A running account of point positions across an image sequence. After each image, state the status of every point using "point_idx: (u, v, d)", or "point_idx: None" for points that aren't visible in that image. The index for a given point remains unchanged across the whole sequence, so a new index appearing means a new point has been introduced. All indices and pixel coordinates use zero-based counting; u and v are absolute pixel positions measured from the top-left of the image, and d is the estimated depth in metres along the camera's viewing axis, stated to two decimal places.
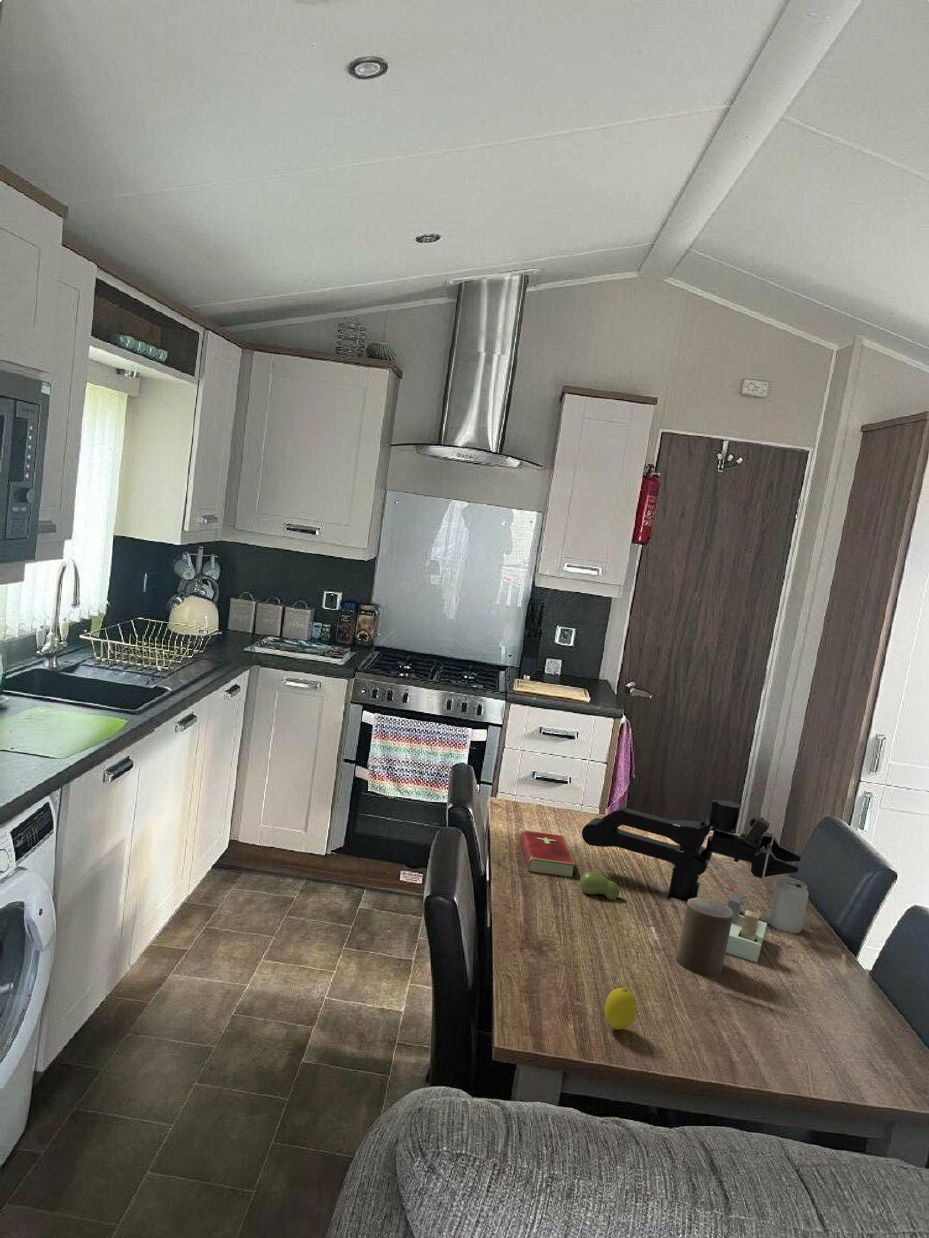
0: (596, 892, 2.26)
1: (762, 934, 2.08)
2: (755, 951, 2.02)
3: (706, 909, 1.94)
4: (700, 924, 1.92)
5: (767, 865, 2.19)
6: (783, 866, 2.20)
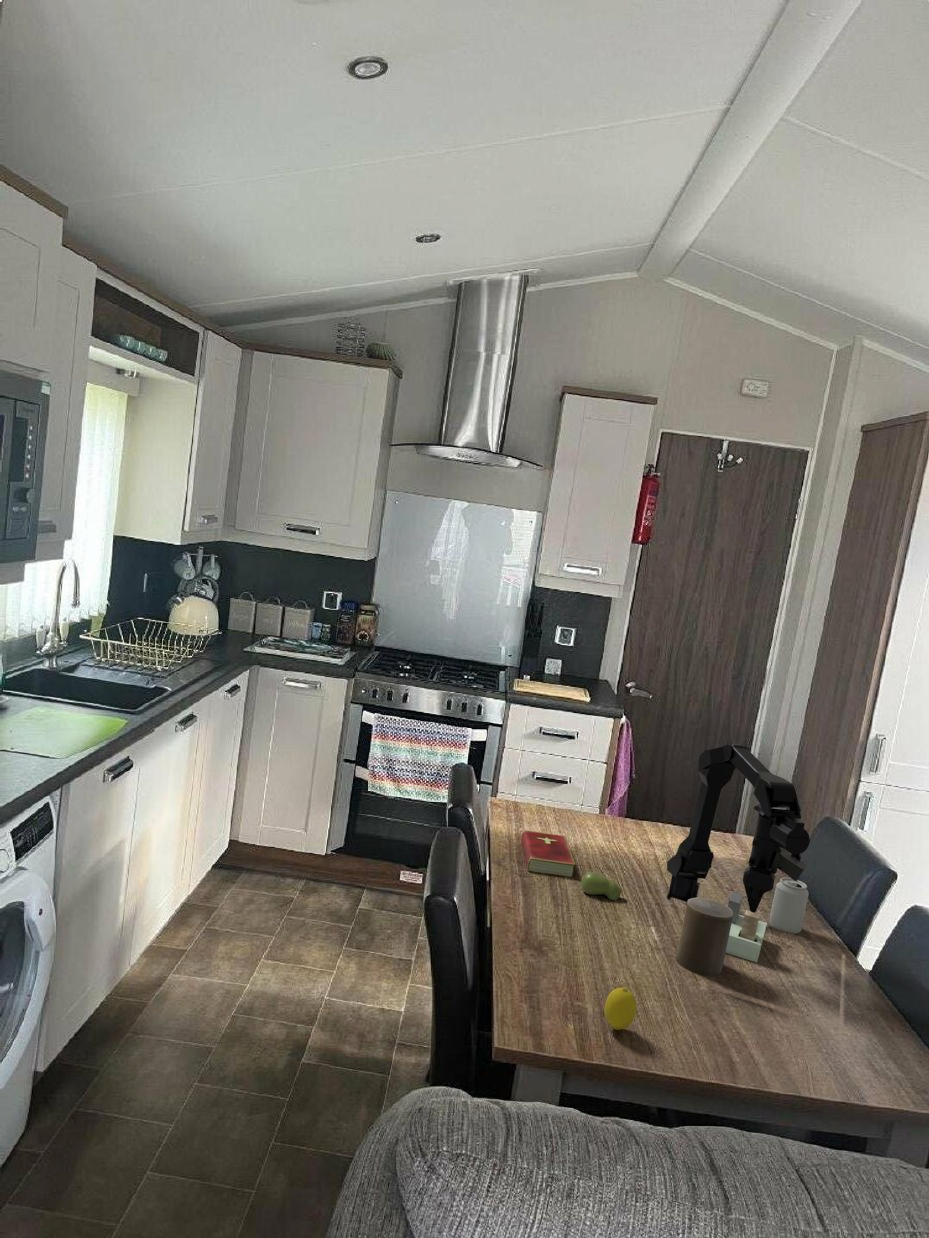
0: (598, 892, 2.26)
1: (762, 934, 2.08)
2: (755, 951, 2.02)
3: (706, 909, 1.94)
4: (700, 924, 1.92)
5: (757, 887, 1.97)
6: (756, 899, 1.99)
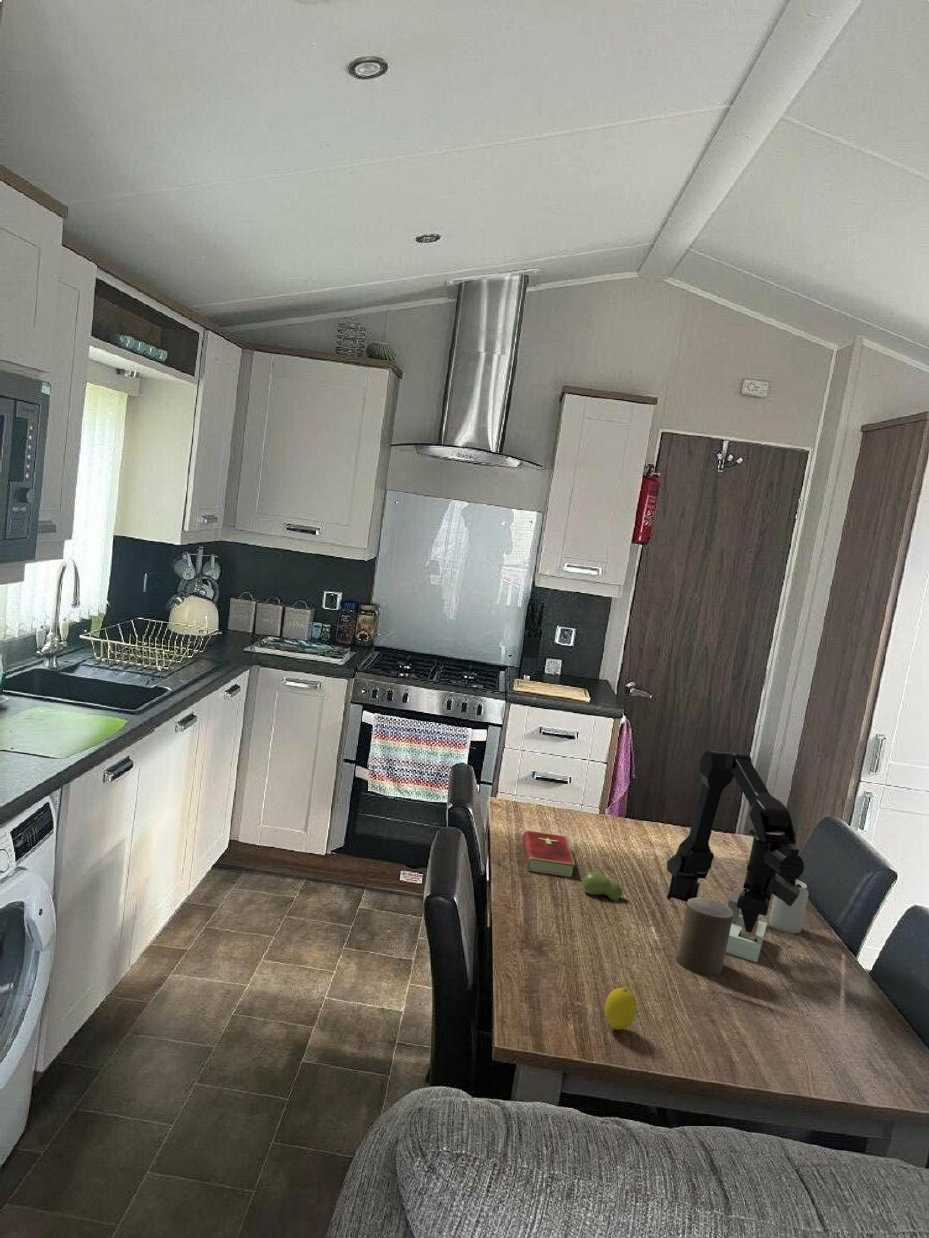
0: (599, 893, 2.26)
1: (762, 934, 2.08)
2: (755, 951, 2.02)
3: (706, 909, 1.94)
4: (700, 924, 1.92)
5: None
6: (751, 919, 2.02)
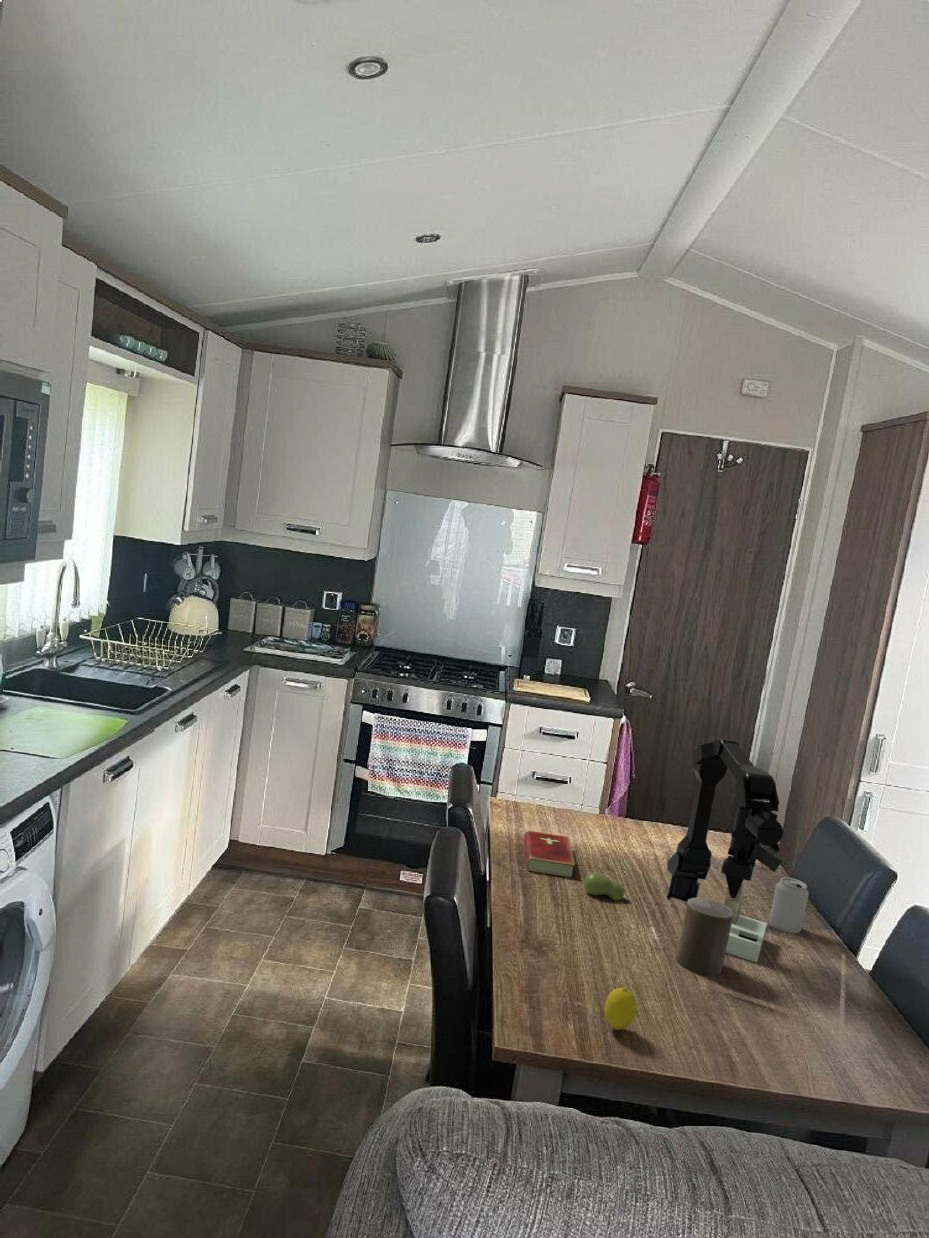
0: (600, 893, 2.26)
1: (762, 934, 2.08)
2: (755, 951, 2.02)
3: (706, 909, 1.94)
4: (700, 924, 1.92)
5: None
6: (735, 885, 2.04)
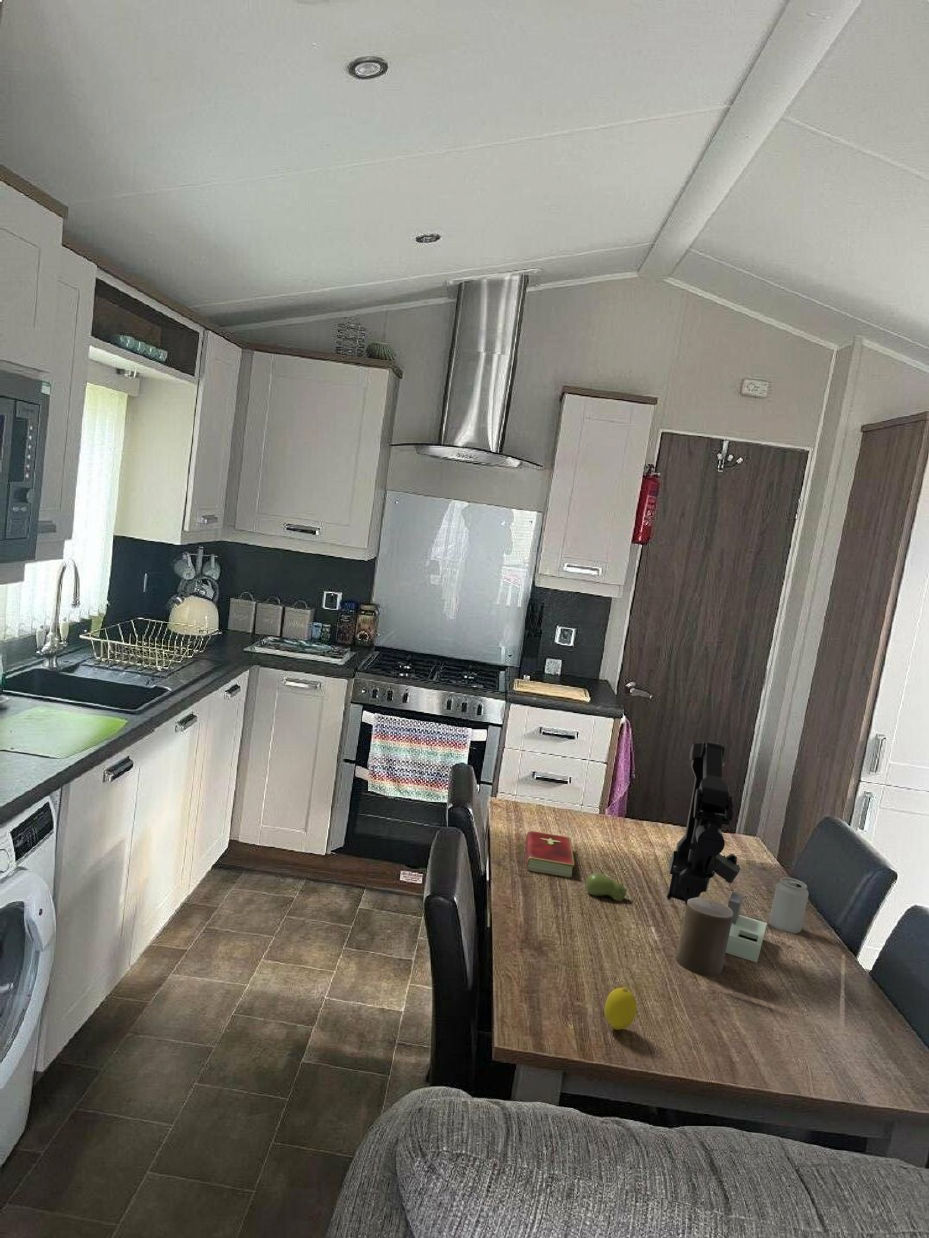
0: (602, 893, 2.26)
1: (762, 934, 2.08)
2: (755, 951, 2.02)
3: (706, 909, 1.94)
4: (700, 924, 1.92)
5: None
6: None
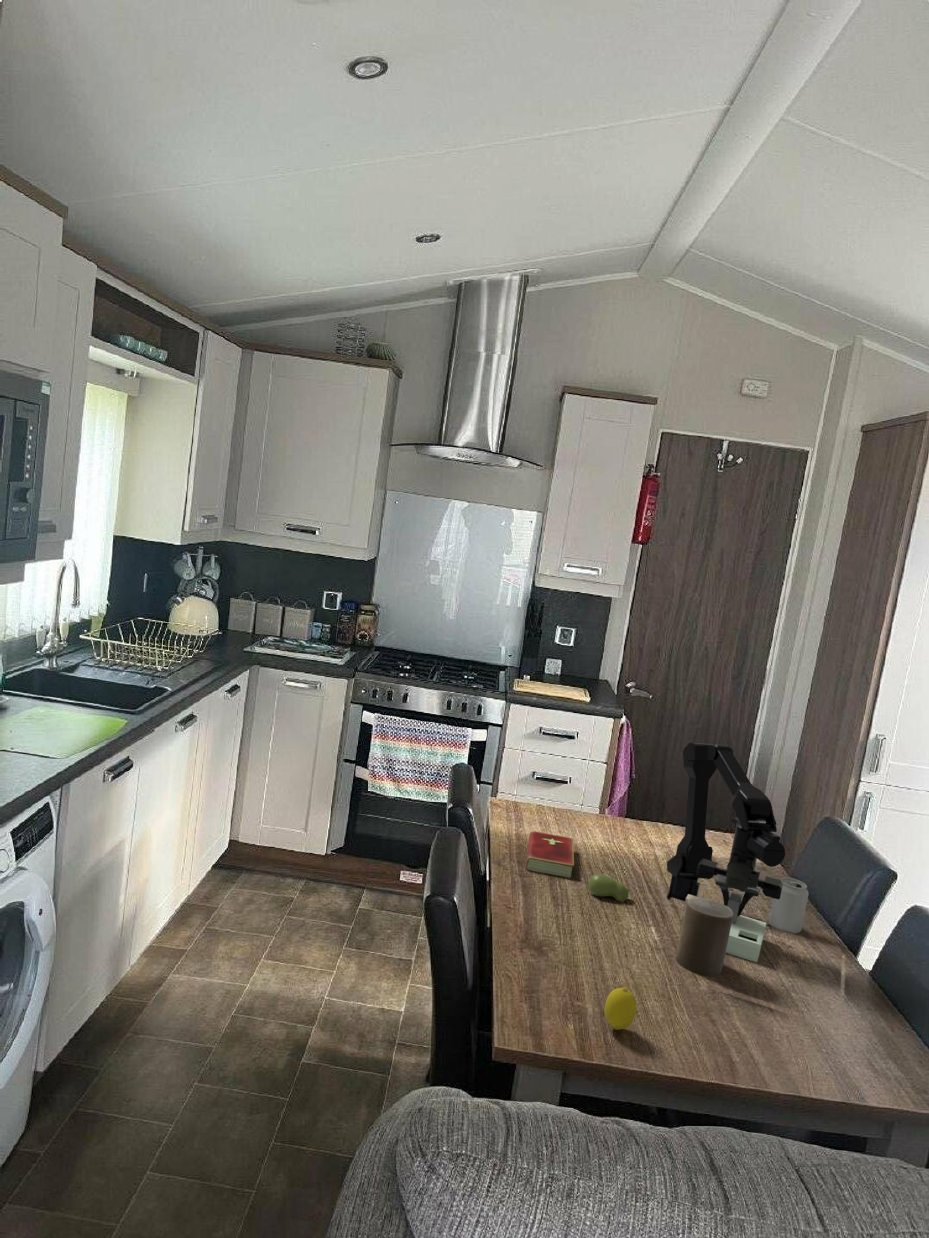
0: (605, 894, 2.26)
1: (762, 934, 2.08)
2: (755, 951, 2.02)
3: (706, 909, 1.94)
4: (700, 924, 1.92)
5: None
6: None
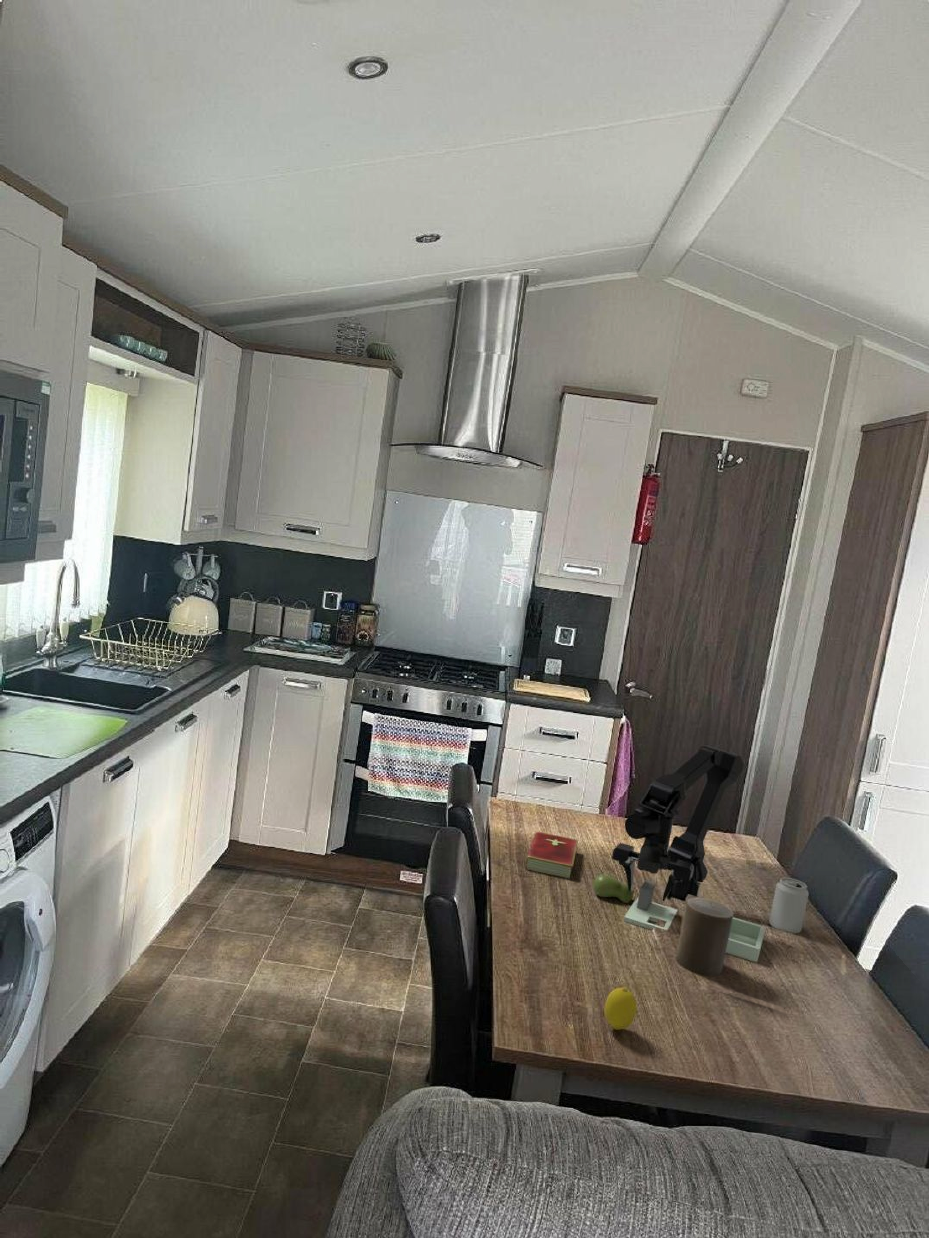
0: (610, 895, 2.26)
1: (671, 920, 2.18)
2: (755, 951, 2.02)
3: (706, 909, 1.94)
4: (700, 924, 1.92)
5: None
6: None
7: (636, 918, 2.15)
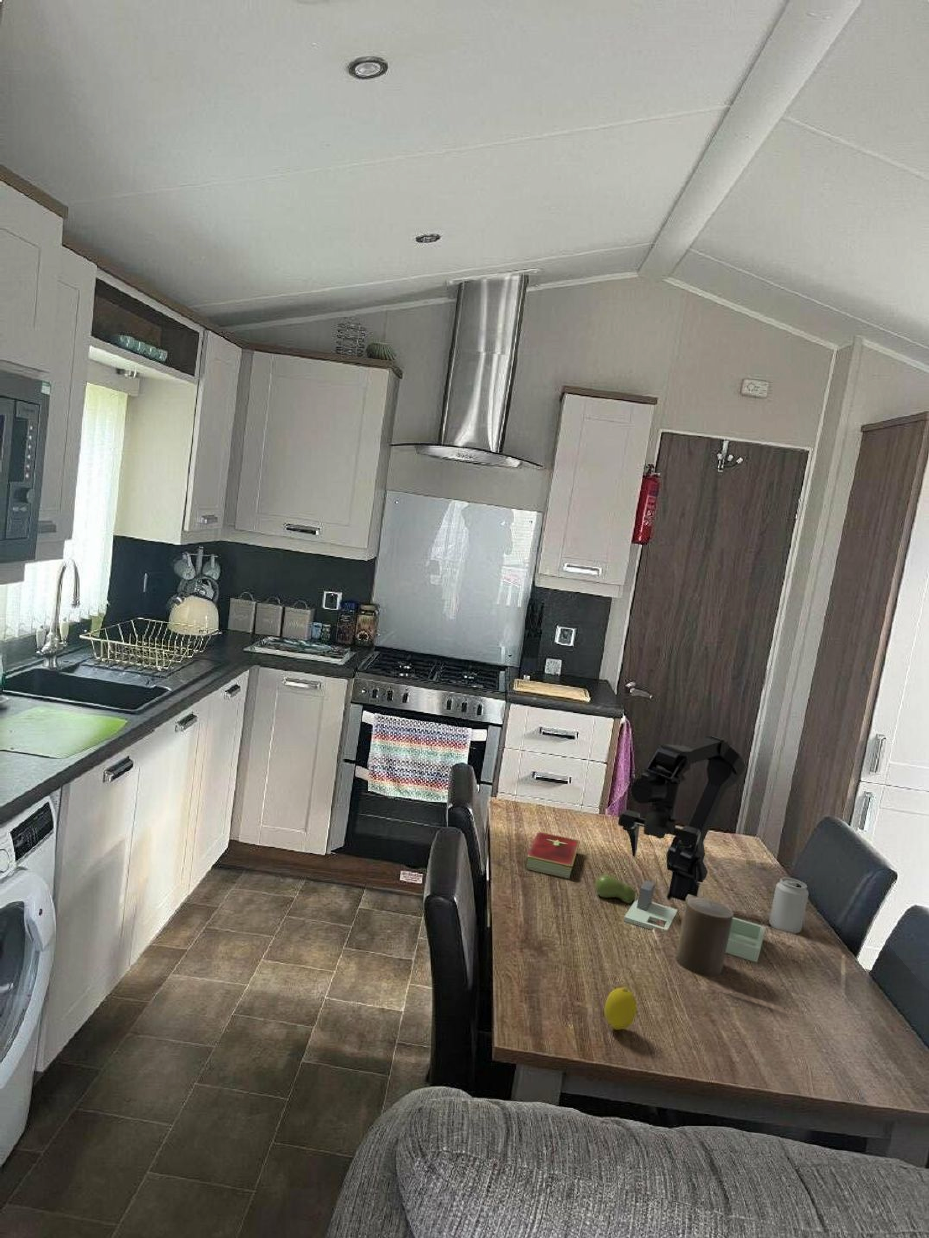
0: (612, 895, 2.26)
1: (671, 920, 2.18)
2: (755, 951, 2.02)
3: (706, 909, 1.94)
4: (700, 924, 1.92)
5: None
6: None
7: (636, 918, 2.15)
